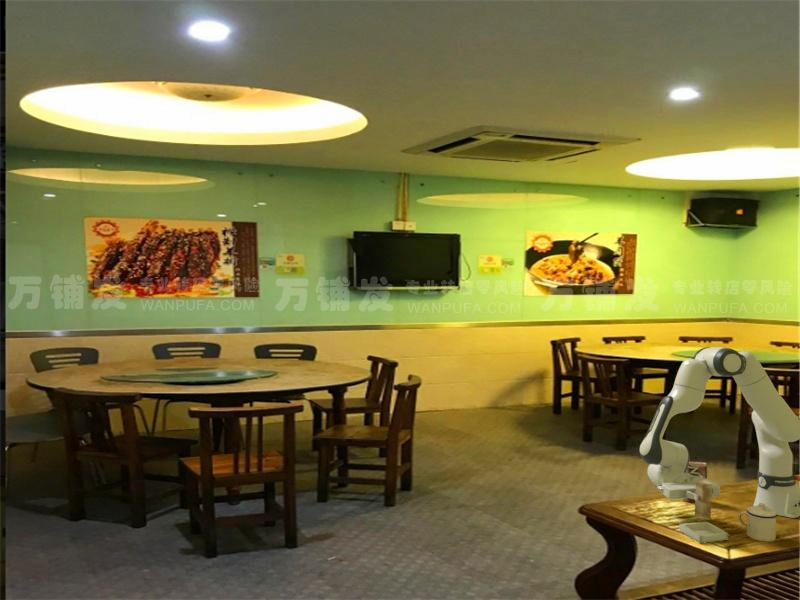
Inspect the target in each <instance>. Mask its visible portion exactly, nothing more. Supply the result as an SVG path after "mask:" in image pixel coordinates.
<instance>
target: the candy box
mask: <svg viewBox="0 0 800 600" xmlns="http://www.w3.org/2000/svg"><path fill="white" fill-rule="evenodd" d="M685 473H688V474H697V475H702V476H703V478H705V479H708V465H707V463H706V462H701V461H700V462H699V461H689V465H688V467H687V469H686V471H685ZM681 500H682V502H688V503H695V500H694V499H690V498H684V499H681Z"/></svg>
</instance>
